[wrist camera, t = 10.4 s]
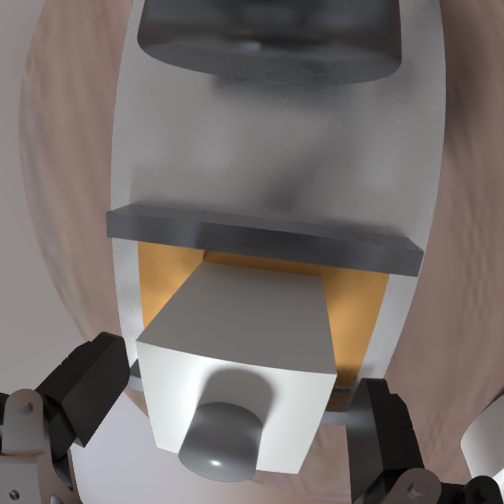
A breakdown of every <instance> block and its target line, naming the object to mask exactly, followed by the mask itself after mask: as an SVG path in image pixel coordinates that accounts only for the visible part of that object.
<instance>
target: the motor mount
mask: <svg viewBox="0 0 504 504" xmlns="http://www.w3.org/2000/svg"><path fill="white" fill-rule="evenodd" d="M445 107H446V69H445V49H444V36H443V26H442V17H441V10H440V3H439V0H134V2H133V6H132V10H131V14H130V18H129V23H128V27H127V32H126V37H125V42H124V47H123V53H122V59H121V65H120V72H119V79H118V86H117V94H116V103H115V113H114V125H113V139H112V159H111V211H109V212H106V219H107V237H111V238H112V246H113V261H114V273H115V283H116V293H117V301H118V309H119V316H120V323H121V330H122V336H123V338H124V340H125V344H126V350H127V356H128V361H129V366H130V378H129V381H128V386H129V388H132V389H135V390H139V391H142V392H144V389H143V384H142V378H141V373H140V367H139V361H138V355H137V349H136V342H135V340H136V339H137V338H138V337H139V336H140V334H141V333H142V332H143V331H144V329H145V328H146V327H147V326H148V325H149V323H150V322H151V321H152V320H153V319H154V317H155V316H156V315H157V314H158V313H159V311H160V310H161V309H162V308H163V307H164V305H165V304H166V303H167V302H168V301H169V299H170V298H171V297H172V296H173V295H174V293H175V292H176V291H177V290H178V289H179V288H180V286H181V285H182V284H183V283H184V282H185V280H186V279H187V278H188V277H189V276H190V275H191V273H192V272H193V271H194V270H195V269H196V268H197V266H198V265H199V264H200V263H201V262H202V261H205V262H212V263H219V264H226V265H234V266H241V267H248V268H256V269H263V270H271V271H279V272H286V273H294V274H302V275H310V276H318V277H322V283H323V288H324V293H325V299H326V305H327V311H328V317H329V323H330V329H331V335H332V342H333V348H334V355H335V362H336V369H337V377H336V380H335V383H334V386H333V388H332V391H331V394H330V397H329V400H328V402H327V405H326V408H325V410H324V413H323V416H322V418H321V421H320V423H319V424H329V425H346V415H347V411H348V408H349V406H350V403H351V401H352V399H353V396H354V394H355V392H356V389H357V387H358V385H359V382H360V380H361V379H362V378H383V377H384V374H385V372H386V370H387V367H388V365H389V362H390V360H391V358H392V355H393V353H394V350H395V347H396V345H397V342H398V340H399V337H400V334H401V331H402V329H403V326H404V323H405V320H406V317H407V314H408V311H409V308H410V305H411V302H412V299H413V295H414V292H415V289H416V285H417V282H418V278H419V275H420V271H421V268H422V264H423V260H424V256H425V252H426V248H427V243H428V239H429V234H430V230H431V225H432V220H433V215H434V209H435V204H436V198H437V192H438V185H439V178H440V171H441V162H442V153H443V142H444V128H445Z"/></svg>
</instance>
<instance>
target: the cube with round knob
mask: <svg viewBox="0 0 504 504" xmlns="http://www.w3.org/2000/svg"><path fill="white" fill-rule="evenodd" d="M135 342H136V349H137V355H138V361H139V367H140V373H141V378H142V384H143V389H144V394H145V399H146V403H147V408H148V413H149V417H150V421H151V425H152V429H153V433H154V437H155V441H156V445H157V447H158V448H161V449H164V450H168V451H171V452H175V453H178V457H179V459H180V461H181V462H182V464H183V465H184V466H185V467H187V468H188V469H189V470H190V471H192V472H194V473H196V474H198V475H200V476H202V477H205V478H208V479H211V480H215V481H220V482H241V481H245V480H248V479H250V478H252V477H253V476H254V474H255V472H256V470H264V471H272V472H282V473H293V474H298V472H299V470H300V468H301V465H302V463H303V461H304V459H305V457H306V454H307V452H308V450H309V447H310V445H311V443H312V440H313V438H314V436H315V433H316V431H317V428H318V426H319V423H320V421H321V418H322V416H323V413H324V410H325V408H326V405H327V402H328V400H329V397H330V394H331V391H332V388H333V386H334V383H335V380H336V377H337V369H336V362H335V355H334V348H333V342H332V335H331V329H330V323H329V317H328V311H327V305H326V299H325V293H324V288H323V283H322V277H318V276H310V275H302V274H294V273H286V272H279V271H271V270H263V269H256V268H248V267H241V266H234V265H226V264H219V263H212V262H205V261H202V262H201V263H200V264H199V265H198V266H197V268H196V269H195V270H194V271H193V272H192V273H191V275H190V276H189V277H188V278H187V279H186V280H185V282H184V283H183V284H182V285H181V286H180V288H179V289H178V290H177V291H176V292H175V293H174V295H173V296H172V297H171V298H170V299H169V301H168V302H167V303H166V304H165V305H164V307H163V308H162V309H161V310H160V311H159V313H158V314H157V315H156V316H155V317H154V319H153V320H152V321H151V322H150V323H149V325H148V326H147V327H146V328H145V329H144V331H143V332H142V333H141V334H140V336H139V337H138V338H137V339H136V340H135Z"/></svg>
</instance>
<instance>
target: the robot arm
mask: <svg viewBox="0 0 504 504" xmlns="http://www.w3.org/2000/svg"><path fill="white" fill-rule="evenodd" d="M129 378H130V366H129V361H128V356H127V350H126V344H125V340H124V338H123V337H121V336H118V335H114V334H111V333H107V332H101V333H100V334H99V335H98V336H97V337H96V338H95V339H94V340H93V341H92V342H90V341H88V342H86V343H84V344H82V345H80V346H78V347H77V348H76V349H74V351H72V353H70V354H69V355H68V358H66V359H65V360H64V361H63V362H62V363H61V365H59V366H58V367H57V368H56V369H55V370H54V371H53V372H52V373H51V374H50V375H49V376H48V377H47V378H46V379H45V380H44V381H43V382H42V383H41V384H40V385H39V386H38V387H37V388H36V389H35V390H31V389H20V390H17V391H15V392H14V393H12V394H11V395H8V394H4V393H0V504H83V503H82V501H81V499H80V496H79V493H78V489H77V484H76V479H75V473H74V468H73V462H72V455H71V450H70V446H71V445H72V443H73V442H74V443H76V444H78V445H80V446H81V447H84V448H85V446H86V445H87V443H88V442H89V440H90V439H91V437H92V436H93V434H94V433H95V431H96V430H97V428H98V427H99V425H100V424H101V422H102V421H103V419H104V418H105V416H106V415H107V413H108V412H109V410H110V409H111V407H112V406H113V405H114V403H115V402H116V400H117V399H118V397H119V396H120V394H121V393H122V391H123V390H124V389H125V387H126V386H127V384H128V381H129ZM346 432H347V443H348V454H349V467H350V482H351V501H352V504H504V503H503V499H502V495H501V491H500V488H499V485H498V483H497V482H496V481H495V480H494V479H493V478H491V477H489V476H485V475H480V476H477V477H474V478H473V479H472V480H470V481H469V482H468V483H467V484H466V485H461V484H450V483H443V482H440V480H439V479H438V477H437V476H436V475H435V474H434V473H433V472H431V471H430V470H427V469H425V468H424V465H423V461H422V457H421V453H420V450H419V446H418V442H417V439H416V435H415V432H414V429H413V425H412V422H411V419H410V416H409V412H408V409H407V406H406V404H405V403H404V402H403V400H402V399H401V398H400V397H399V396H398V394H390V392H389V388H388V385H387V382H386V380H385V379H384V378H362V379H361V380H360V382H359V385H358V387H357V389H356V392H355V394H354V396H353V399H352V401H351V403H350V406H349V408H348V411H347V415H346Z"/></svg>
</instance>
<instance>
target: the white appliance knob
mask: <svg viewBox="0 0 504 504" xmlns="http://www.w3.org/2000/svg"><path fill="white" fill-rule="evenodd" d="M461 448H462V451H463V453H464V456H465V459H466V461H467V464H468V467H469V470H470V473H471V476H472V479H473V478H474V477H477V476H480V475H485V476H489V477H491V478H493V479H494V480H495V481H496V482H497V483H498V485H499V488H500V491H501V495H502V499H503V503H504V395H502V396H501V397H499V398H498V399H497V400H496V401H494V402H493V403H492V404H491V405H489V406H488V407H487V408H486V409H485V410H484V411H483V412H482V413H481V414H480V415H479V416H478V417H477V418H476V419H475V420H474V422H473V423H472V424H471V425H470V426H469V428H468V429H467V431H466V432H465V433H464V436H463V438H462V440H461Z"/></svg>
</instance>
